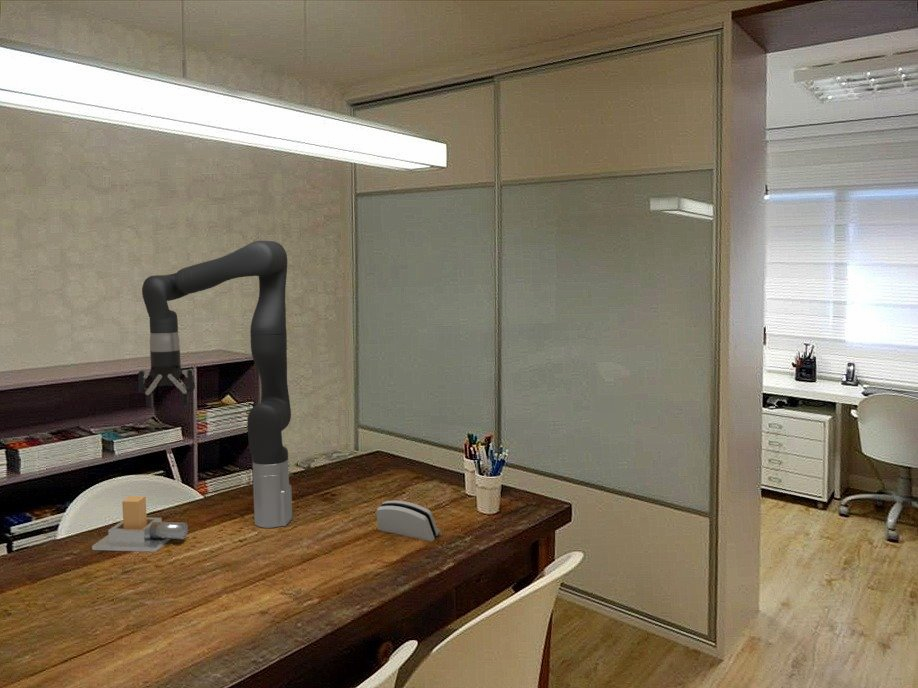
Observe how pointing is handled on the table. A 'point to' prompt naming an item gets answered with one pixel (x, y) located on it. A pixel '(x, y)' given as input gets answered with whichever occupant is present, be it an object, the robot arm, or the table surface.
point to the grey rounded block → (406, 520)
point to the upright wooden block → (134, 512)
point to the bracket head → (142, 536)
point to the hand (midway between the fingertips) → (167, 407)
